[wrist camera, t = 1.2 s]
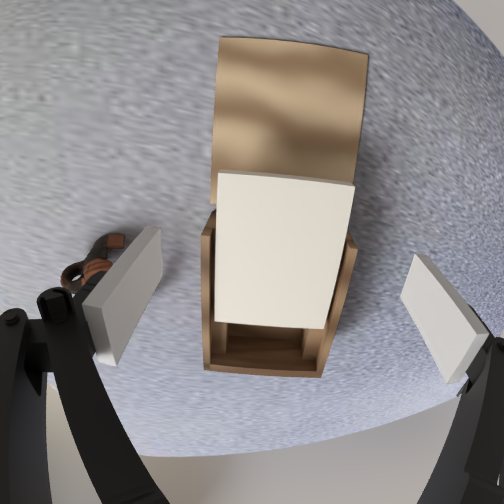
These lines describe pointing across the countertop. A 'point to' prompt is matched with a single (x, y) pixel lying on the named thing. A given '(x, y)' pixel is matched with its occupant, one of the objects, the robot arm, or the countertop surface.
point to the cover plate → (278, 247)
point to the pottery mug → (91, 262)
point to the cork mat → (287, 109)
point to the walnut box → (267, 327)
